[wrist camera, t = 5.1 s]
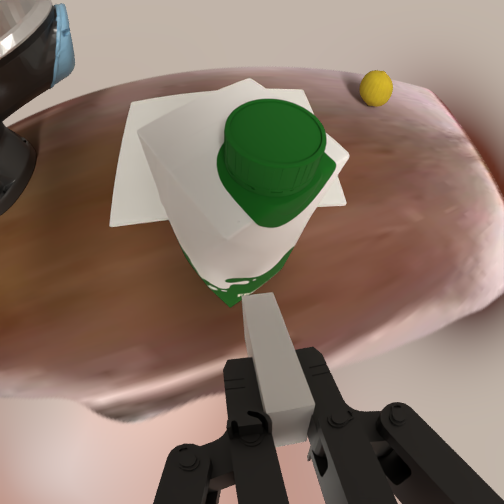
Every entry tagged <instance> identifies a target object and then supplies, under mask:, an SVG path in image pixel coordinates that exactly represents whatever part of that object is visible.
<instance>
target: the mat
mask: <svg viewBox="0 0 504 504" xmlns="http://www.w3.org/2000/svg"><path fill="white" fill-rule="evenodd" d="M267 90H269V91H270V92H272V93H273V94H274V95H276V96H281V97H283V98H285V99H286V100H287V101H289V102H292V103H295V104H297V105H300V106H302V107H303V108H305V109H307V110H308V111H310V112H311V113H312V114H313V111H312V109H311V107H310V104H309V102H308V100H307V98H306V95H305V93H304V91H303V90H296V89H267ZM212 92H215V91H206V92H196V93H187V94H178V95H171V96H164V97H158V98H152V99H146V100H141V101H136V102H131V106H130V110H129V114H128V118H127V122H126V126H125V131H124V135H123V140H122V145H121V150H120V155H119V160H118V166H117V172H116V178H115V185H114V191H113V199H112V207H111V216H110V226H111V227H117V226H124V225H131V224H139V223H147V222H155V221H163V220H169V219H168V216H167V214H166V211H165V208H164V206H163V205H162V203H161V200H160V197H159V192H158V189H157V186H156V183H155V181H154V178H153V175H152V173H151V170H150V167H149V165H148V162H147V159H146V156H145V153H144V151H143V148H142V145H141V142H140V139H139V137H138V134H137V130H138V129H140V128H141V127H143V126H145V125H147V124H149V123H150V122H152V121H154V120H156V119H158V118H160V117H162V116H163V115H165V114H167V113H169V112H171V111H173V110H175V109H177V108H179V107H181V106H183V105H186V104H188V103H190V102H192V101H194V100H196V99H198V98H201V97H203V96H205V95H208V94H210V93H212ZM313 115H314V114H313ZM346 204H347V203H346V200H345V197H344V194H343V191H342V188H341V185H340V182H339V179H338V176H337V177H336V178H335V180H334V181H333V183H332V184H331V186H330V188H329V189H328V191H327V192H326V194H325V195H324V197H323V198H322V200H321V201H320V203H319V204H318V206H317V207H325V206H344V205H346Z"/></svg>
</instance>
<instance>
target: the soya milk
mask: <svg viewBox="0 0 504 504" xmlns="http://www.w3.org/2000/svg"><path fill="white" fill-rule="evenodd" d="M137 134H138V137H139V139H140V142H141V145H142V148H143V151H144V153H145V156H146V159H147V162H148V165H149V167H150V170H151V173H152V175H153V178H154V181H155V183H156V186H157V189H158V192H159V197H160V200H161V203H162V205H163V206H164V208H165V211H166V214H167V216H168V219H169V221H170V224H171V226H172V228H173V231H174V233H175V235H176V237H177V240H178V242H179V244H180V246H181V249H182V251H183V253H184V255H185V257H186V259H187V260H188V262H189V263H190V265H191V266H192V267H193V269H194V270H195V271H196V272H197V274H198V275H199V276H200V278H201V279H202V280H203V281H204V282H205V284H206V285H207V286H208V287H209V288H210V289H211V290H212V291H213V292H214V293H215V294H216V295H217V296H218V297H219V298H220V299H221V300H222V301H224V302H225V303H226V304H227V305H228V306H229V307H232V306H233V305H235V304H236V303H238V302H239V301H241V300H242V296H245V295H249V294H251V293H252V292H254V291H255V290H256V289H258V288H259V287H260V286H262V285H263V284H264V283H265V282H267V281H268V280H269V279H270V278H272V277H273V276H274V275H275V274H276V273H278V272H279V271H280V270H281V269H282V267H283V266H284V264H285V262H286V260H287V259H288V257H289V255H290V253H291V251H292V250H293V248H294V246H295V244H296V242H297V240H298V239H299V237H300V235H301V233H302V231H303V229H304V228H305V226H306V224H307V222H308V220H309V219H310V217H311V215H312V214H313V212H314V211H315V209H316V207H317V206H318V204H319V203H320V201H321V200H322V198H323V197H324V195H325V194H326V192H327V191H328V189H329V188H330V186H331V184H332V183H333V181H334V180H335V178H336V177H337V175H338V174H339V172H340V171H341V169H342V167H343V166H344V164H345V163H346V161H347V160H348V158H349V153H348V152H347V151H346V150H345V149H344V148H343V147H342V146H341V145H339V144H338V143H337V142H336V141H335V140H334V139H333V138H332V137H330V136H329V135H328V134H327V133H326V132H325V129H324V127H323V125H322V124H321V122H320V121H319V120H318V119H317V117H316V116H315V115H313V114H312V113H311V112H310V111H308V110H307V109H305V108H303V107H302V106H300V105H297V104H295V103H292V102H289V101H287V100H286V99H285V98H283V97H281V96H276V95H274V94H273V93H272V92H270V91H269V90H267V89H266V88H264V87H263V86H261V85H260V84H258V83H257V82H256V81H254V80H252V79H251V78H248V79H245V80H242V81H240V82H237V83H234V84H232V85H229V86H227V87H224V88H222V89H219V90H217V91H215V92H212V93H210V94H208V95H205V96H203V97H201V98H198V99H196V100H194V101H192V102H190V103H188V104H186V105H183V106H181V107H179V108H177V109H175V110H173V111H171V112H169V113H167V114H165V115H163V116H162V117H160V118H158V119H156V120H154V121H152V122H150V123H149V124H147V125H145V126H143V127H141V128H140V129H138V130H137Z"/></svg>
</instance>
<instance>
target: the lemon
mask: <svg viewBox="0 0 504 504" xmlns="http://www.w3.org/2000/svg"><path fill="white" fill-rule="evenodd" d="M392 90H393V84H392V81H391V79H390V77H389V76H388V75H387V74H386V72H384V71H378V70H377V71H376V70H375V71H370V72H369V73H367V74H366V75H365V76H364V78H363V79H362V81H361V84H360V95H361V97H362V99H363V100H364V101H365V102H366V103H367V105H368V106H376V107H377V106H382V105H384V104H385V103H386V102H387V101H388V100H389V98H390V97H391V94H392Z"/></svg>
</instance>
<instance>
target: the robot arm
mask: <svg viewBox="0 0 504 504" xmlns="http://www.w3.org/2000/svg"><path fill="white" fill-rule="evenodd" d="M74 66H75V58H74V51H73V44H72V39H71V34H70V28H69V21H68V15H67V11H66V7H65V5H64V4H62V3H61V4H57V5H54V6H53V5H52V2H51V0H0V215H2V214H3V213H4V212H5V211H6V210H8V209H9V208H10V207H11V205H12V204H13V203H14V202H15V201H16V200H17V198H18V197H19V196H20V194H21V193H22V191H23V190H24V188H25V187H26V185H27V183H28V181H29V179H30V177H31V175H32V172H33V169H34V166H35V162H36V153H35V150H34V148H33V147H32V145H31V144H30V143H29V141H28V140H27V139H25V138H23V137H21V136H19V135H18V134H17V133H15V132H13V131H12V130H10V129H8V128H7V127H5V125H4V124H3V122H2V121H4V120H5V119H6V118H7V117H8V116H10V115H11V114H13V113H14V112H15V111H17V110H18V109H19V108H21V107H22V106H24V105H25V104H26V103H28V102H29V101H31V100H32V99H34V98H35V97H37V96H38V95H40V94H41V93H43V92H45V91H46V90H48V89H51V88H52V87H53V86H54V85H55V84H56V83H58V82H59V81H61V80H63V79H64V78H65V77H67V76H68V75H69V74H71V72H72V71H73V69H74ZM242 308H243V320H244V333H245V341H246V347H247V352H248V358H240V359H231V360H227V362H226V364H225V367H224V369H223V373H224V384H225V394H226V404H227V413H228V420H227V427H226V428H227V430H226V432H225V433H224V435H223V436H222V437H220V438H219V439H217V440H215V441H213V442H211V443H208V444H205V445H202V446H198V445H195V444H182V445H179V446H177V447H175V448H174V449H173V450H171V452H170V453H169V455H168V457H167V460H166V464H165V467H164V470H163V473H162V477H161V479H160V483H159V486H158V489H157V493H156V496H155V499H154V503H153V504H218V503H219V497H220V492H221V489H224V488H227V487H229V486H232V485H236V492H237V498H238V504H289V501H288V497H287V493H286V489H285V486H284V481H283V477H282V473H281V470H280V465H279V461H278V457H277V453H276V449H275V447H279V446H285V445H289V444H295V443H300V442H304V441H306V440H307V436H308V438H309V442H310V444H311V446H310V450H309V453H308V456H307V458H308V461H310V460H311V459H312V462H313V465H314V468H315V471H316V474H317V478H318V481H319V484H320V487H321V491H322V494H323V497H324V500H325V503H326V504H398V503H397V501H396V499H395V496H396V497H397V498H398V499H399V501H400V502H401V503H402V504H504V500H503V499H502V498H501V497H500V496H498V495H497V494H496V493H495V492H494V491H493V490H492V488H491V487H490V486H488V484H487V483H485V481H484V480H483V479H482V478H481V477H480V476H479V475H478V474H477V473H476V472H475V471H474V470H473V469H472V468H471V467H470V466H469V465H468V464H467V463H466V462H465V461H464V460H463V459H462V458H461V457H460V456H459V455H458V454H457V453H456V452H455V451H454V450H453V449H452V448H451V447H450V446H449V445H448V444H447V443H445V441H444V440H443V439H442V438H441V437H440V436H439V435H438V434H437V433H436V432H435V431H434V430H433V429H432V428H431V427H430V426H429V425H428V424H427V423H426V422H425V421H424V420H423V419H422V418H421V417H420V416H419V415H418V414H417V413H416V412H415V411H414V410H413V409H412V408H411V407H409V406H408V405H406V404H404V403H400V402H395V403H391V404H388V405H387V406H386V407H385V408H384V409H383V410H382V411H372V412H371V411H369V412H364V411H358V410H354V409H352V408H351V407H349V406H348V405H347V404H346V403H345V401H344V400H343V398H342V396H341V394H340V391H339V390H338V387H337V385H336V383H335V381H334V379H333V376H332V374H331V373H330V370H329V368H328V366H327V365H326V362H325V360H324V357H323V355H322V354H321V353H320V352H319V351H318V350H317V349H315V348H314V347H309V348H303V349H298V350H295V349H294V347H293V344H292V341H291V339H290V336H289V333H288V331H287V328H286V325H285V323H284V320H283V318H282V315H281V312H280V310H279V307H278V305H277V302H276V299H275V297H274V294H273V292H271V293H263V294H254V295H245V296H242ZM394 495H395V496H394Z"/></svg>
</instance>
